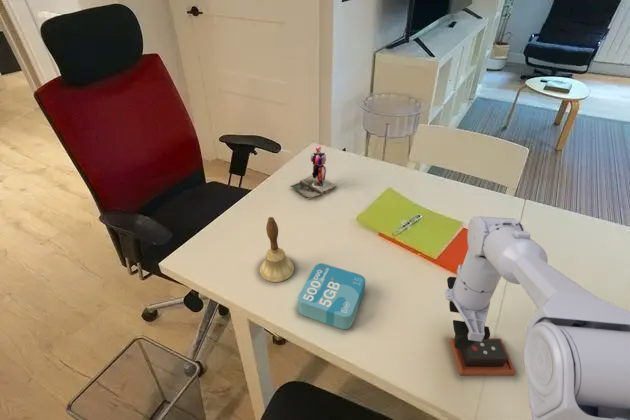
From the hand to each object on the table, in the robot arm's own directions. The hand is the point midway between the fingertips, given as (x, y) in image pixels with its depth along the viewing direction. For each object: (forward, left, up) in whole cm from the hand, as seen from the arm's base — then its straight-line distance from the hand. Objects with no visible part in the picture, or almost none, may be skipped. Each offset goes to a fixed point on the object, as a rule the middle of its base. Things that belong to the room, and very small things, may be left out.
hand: (457, 328), depth 68 cm
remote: (-3, -5, -8) cm, 10 cm away
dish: (-3, -5, -8) cm, 10 cm away
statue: (+61, +7, -8) cm, 62 cm away
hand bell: (+32, +26, -8) cm, 42 cm away
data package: (+15, +12, -6) cm, 20 cm away
